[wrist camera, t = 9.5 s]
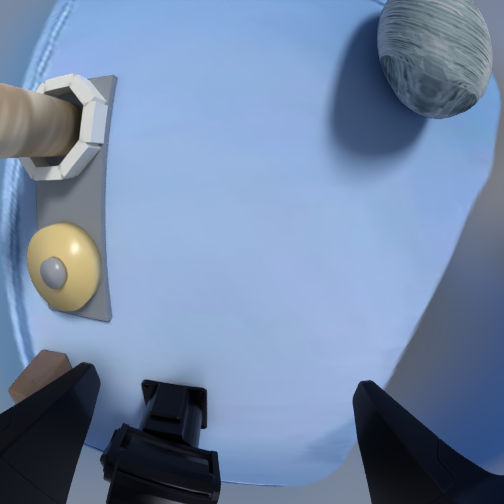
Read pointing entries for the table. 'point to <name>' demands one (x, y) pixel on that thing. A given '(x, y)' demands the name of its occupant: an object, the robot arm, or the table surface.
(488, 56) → the grey streaked oval stone
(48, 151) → the peg
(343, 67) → the table surface
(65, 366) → the wooden block
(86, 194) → the board
